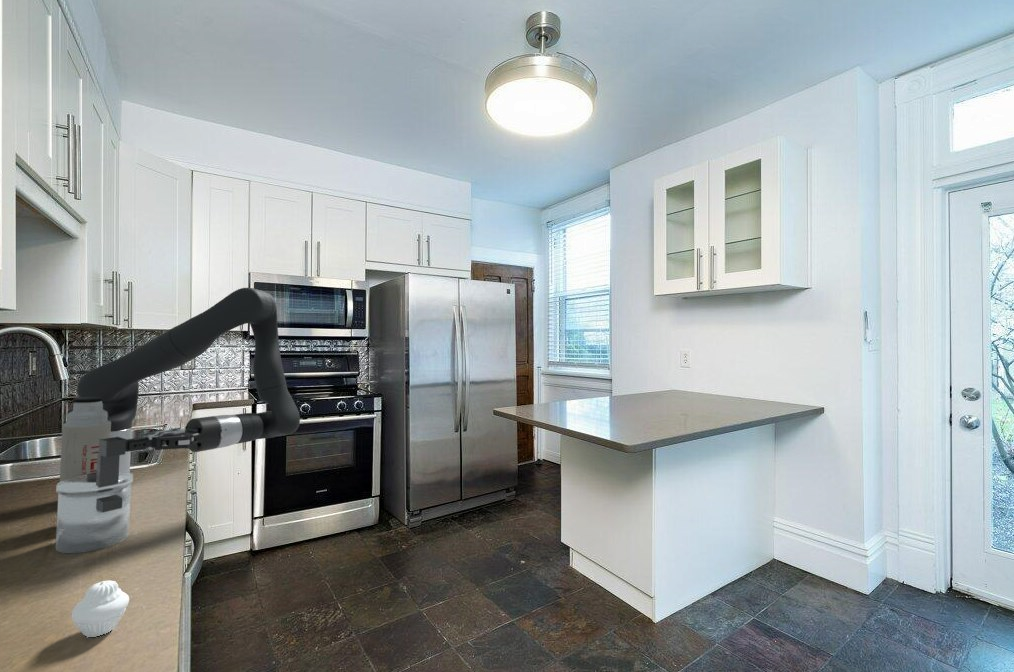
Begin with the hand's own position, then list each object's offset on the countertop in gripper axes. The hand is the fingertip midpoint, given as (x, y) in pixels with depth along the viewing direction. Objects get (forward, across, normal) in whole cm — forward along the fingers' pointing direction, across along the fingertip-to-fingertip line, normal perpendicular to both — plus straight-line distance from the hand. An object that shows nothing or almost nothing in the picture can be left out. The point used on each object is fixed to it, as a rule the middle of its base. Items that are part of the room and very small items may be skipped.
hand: (123, 446), depth 91 cm
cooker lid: (+1, -6, +9) cm, 11 cm away
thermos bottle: (-1, -20, +20) cm, 28 cm away
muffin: (+13, +29, +20) cm, 38 cm away
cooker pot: (+2, -6, +20) cm, 21 cm away
